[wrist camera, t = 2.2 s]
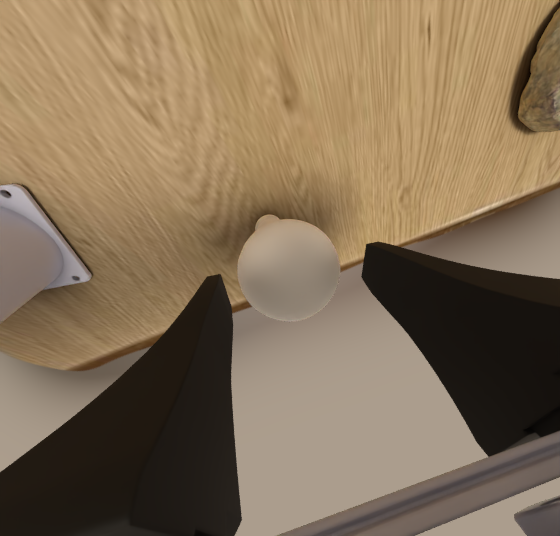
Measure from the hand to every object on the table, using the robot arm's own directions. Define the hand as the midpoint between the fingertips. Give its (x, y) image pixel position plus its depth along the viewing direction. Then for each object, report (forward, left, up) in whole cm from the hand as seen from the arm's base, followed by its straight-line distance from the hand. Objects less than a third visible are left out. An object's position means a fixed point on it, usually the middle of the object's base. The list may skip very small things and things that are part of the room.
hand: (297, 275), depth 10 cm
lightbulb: (0, -1, -10) cm, 10 cm away
